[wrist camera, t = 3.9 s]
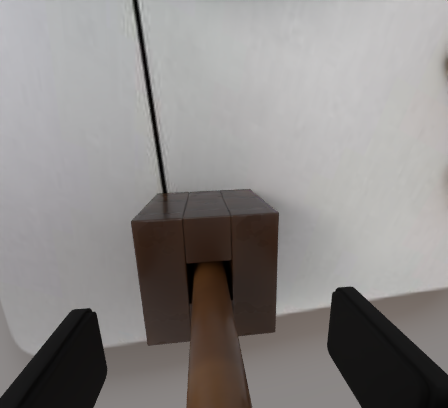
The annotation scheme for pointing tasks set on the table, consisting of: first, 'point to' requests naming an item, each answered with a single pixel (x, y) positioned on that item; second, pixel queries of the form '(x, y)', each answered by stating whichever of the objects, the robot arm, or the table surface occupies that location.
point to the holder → (206, 258)
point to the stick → (214, 344)
